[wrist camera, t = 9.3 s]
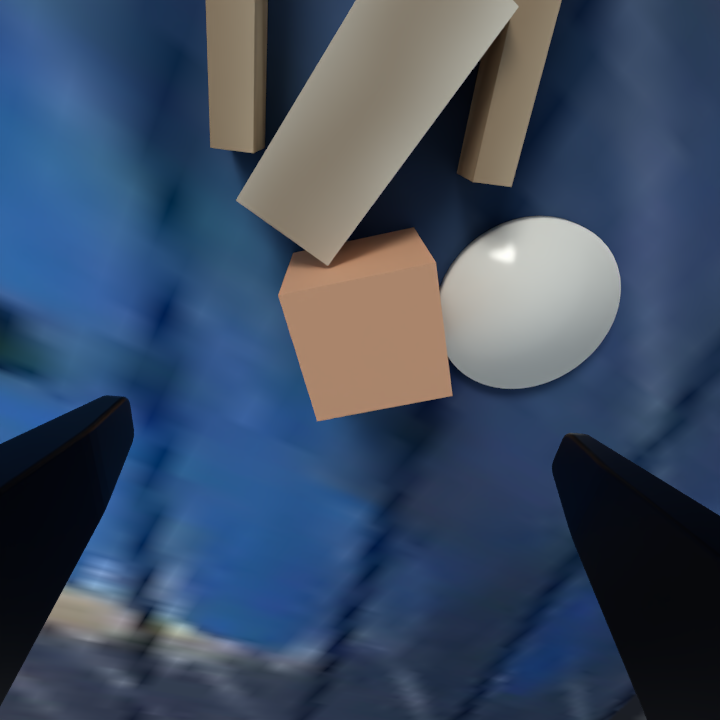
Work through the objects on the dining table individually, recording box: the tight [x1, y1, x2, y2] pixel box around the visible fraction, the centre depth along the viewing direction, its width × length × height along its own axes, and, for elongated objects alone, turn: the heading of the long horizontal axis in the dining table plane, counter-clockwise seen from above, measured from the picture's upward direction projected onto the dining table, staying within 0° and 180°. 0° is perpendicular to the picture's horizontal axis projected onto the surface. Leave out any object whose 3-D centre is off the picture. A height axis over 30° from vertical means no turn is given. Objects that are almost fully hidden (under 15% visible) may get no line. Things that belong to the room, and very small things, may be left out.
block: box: [278, 227, 452, 421], centre depth 16 cm, size 4×4×4 cm
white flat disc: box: [439, 216, 621, 389], centre depth 18 cm, size 7×7×1 cm
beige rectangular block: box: [236, 0, 519, 266], centre depth 13 cm, size 3×8×3 cm, turn 143°
